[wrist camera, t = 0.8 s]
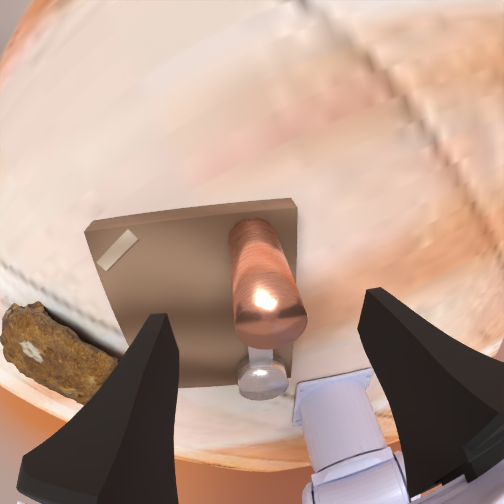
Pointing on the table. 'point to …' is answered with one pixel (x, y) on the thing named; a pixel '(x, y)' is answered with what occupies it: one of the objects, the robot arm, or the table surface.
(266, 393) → the lever
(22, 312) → the decorative rock
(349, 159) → the table surface
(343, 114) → the table surface
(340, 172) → the table surface
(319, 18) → the table surface
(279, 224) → the board
